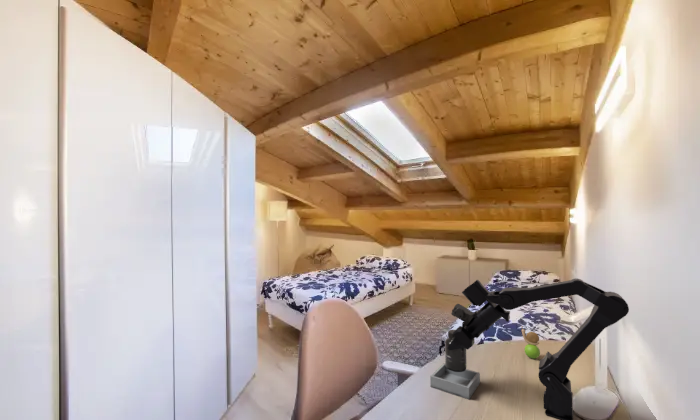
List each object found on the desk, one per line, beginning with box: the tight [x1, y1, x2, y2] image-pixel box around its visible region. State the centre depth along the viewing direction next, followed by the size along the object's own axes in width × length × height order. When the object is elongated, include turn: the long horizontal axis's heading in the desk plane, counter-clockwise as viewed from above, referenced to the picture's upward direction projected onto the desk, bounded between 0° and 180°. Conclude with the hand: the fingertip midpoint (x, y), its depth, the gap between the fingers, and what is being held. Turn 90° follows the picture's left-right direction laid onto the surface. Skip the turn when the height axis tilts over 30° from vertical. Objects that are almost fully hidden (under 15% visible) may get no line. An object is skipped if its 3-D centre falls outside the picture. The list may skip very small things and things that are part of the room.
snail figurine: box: [521, 325, 541, 360], centre depth 128 cm, size 5×6×12 cm
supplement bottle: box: [444, 329, 468, 372], centre depth 107 cm, size 7×7×12 cm
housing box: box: [430, 362, 481, 400], centre depth 106 cm, size 12×12×4 cm
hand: (451, 345), depth 108 cm, fingers closed on supplement bottle, 7 cm apart
